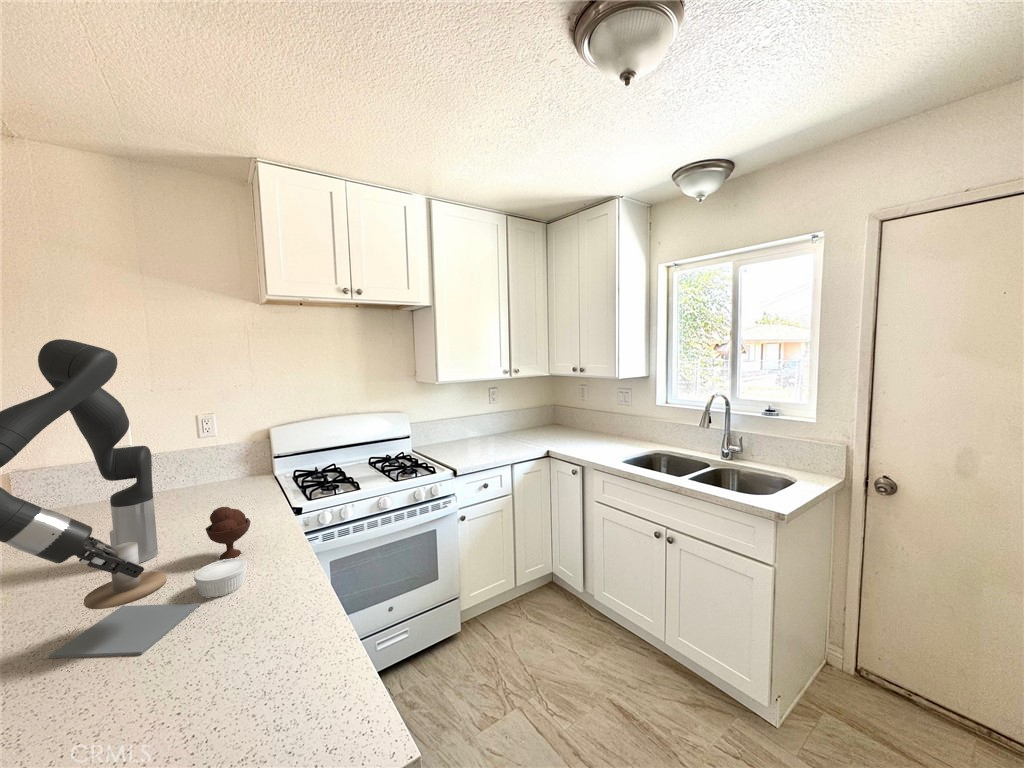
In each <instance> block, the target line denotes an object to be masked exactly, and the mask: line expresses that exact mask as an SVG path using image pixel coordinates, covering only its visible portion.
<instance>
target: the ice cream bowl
mask: <svg viewBox="0 0 1024 768" xmlns="http://www.w3.org/2000/svg"><path fill="white" fill-rule="evenodd" d="M209 521H210V523H211V524H210V525H208V526H207V527H205V528H204V529H205V532H206V535H207V536H208V538H209V539H210V541H212V542H214V543H217V544H222V545H225V546H226V550H225V551H224V552H222V553H221V554H220V555H219V557H220V558H219V560H220V559H225V560H226V559H231V558H235V557H236V558H238V557H240V556H241V555H242V551H241V550H240V549H236V548H234V543H236V542H237V541H238V540H240V539H241V538H242V537H243V536H244V535H246V533H247V532H248V530H249V528H250V526H251V519H250V518H249V517H246V515H245V512H242V510H241V509H238V508H231V507H230V506H220V507H217V508H215V509H214V510H213V511H212V512H211V514H210V516H209ZM240 554H241V555H240ZM239 555H240V556H239Z"/></svg>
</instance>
